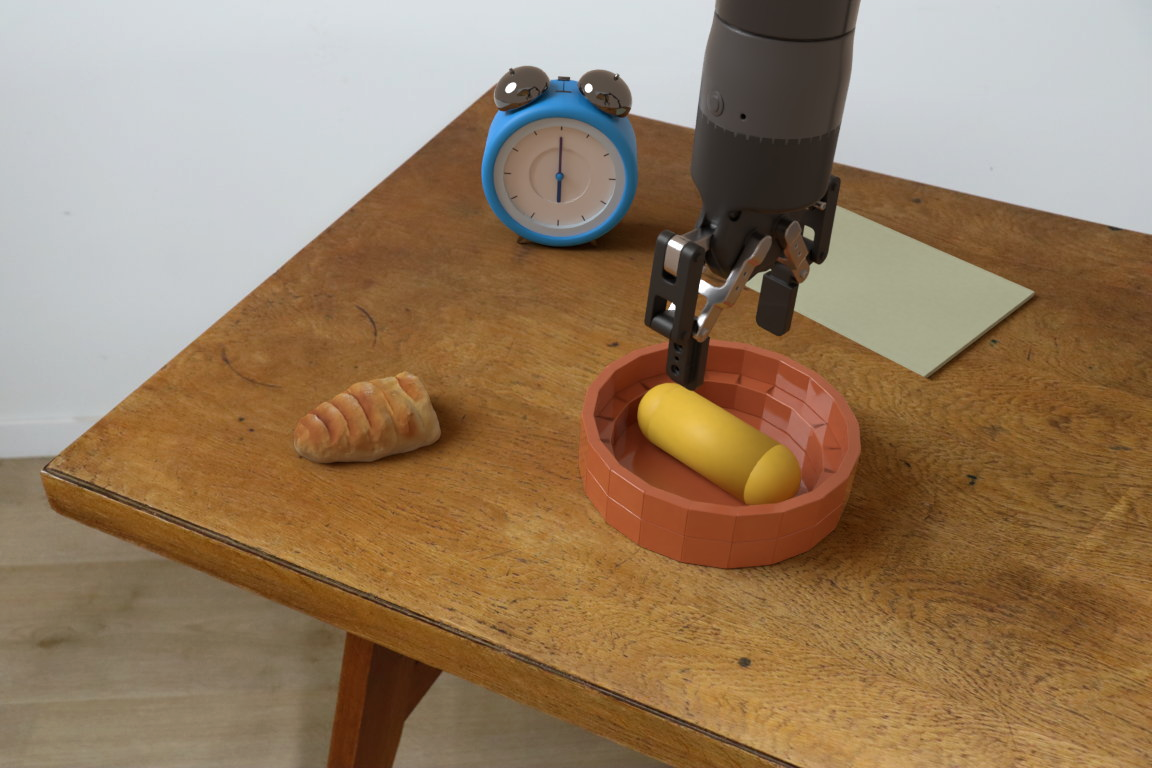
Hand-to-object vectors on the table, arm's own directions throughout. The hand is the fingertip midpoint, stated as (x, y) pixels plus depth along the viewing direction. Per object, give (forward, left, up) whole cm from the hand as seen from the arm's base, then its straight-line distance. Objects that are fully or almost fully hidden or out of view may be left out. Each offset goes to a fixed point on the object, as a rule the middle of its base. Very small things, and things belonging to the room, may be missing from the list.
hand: (729, 355), depth 68 cm
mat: (-28, -6, -10) cm, 30 cm away
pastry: (+14, -18, -10) cm, 25 cm away
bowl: (0, 0, -10) cm, 10 cm away
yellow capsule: (0, 0, -9) cm, 9 cm away
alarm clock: (-15, -30, -10) cm, 35 cm away
